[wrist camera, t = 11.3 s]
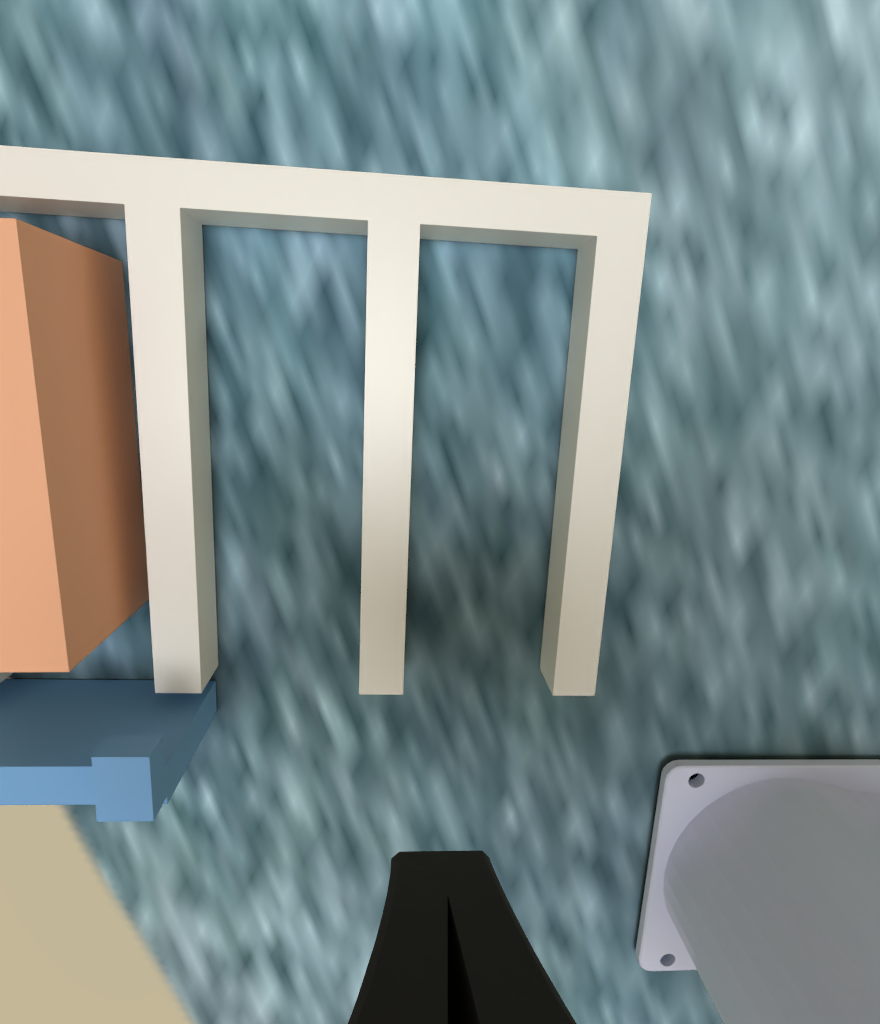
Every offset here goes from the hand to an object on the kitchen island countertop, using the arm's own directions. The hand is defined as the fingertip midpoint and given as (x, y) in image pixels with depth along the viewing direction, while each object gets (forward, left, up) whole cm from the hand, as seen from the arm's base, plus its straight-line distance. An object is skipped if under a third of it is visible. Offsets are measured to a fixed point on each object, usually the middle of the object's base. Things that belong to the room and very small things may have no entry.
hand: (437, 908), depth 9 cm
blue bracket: (+9, +2, -9) cm, 13 cm away
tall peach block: (+9, -6, -10) cm, 14 cm away
